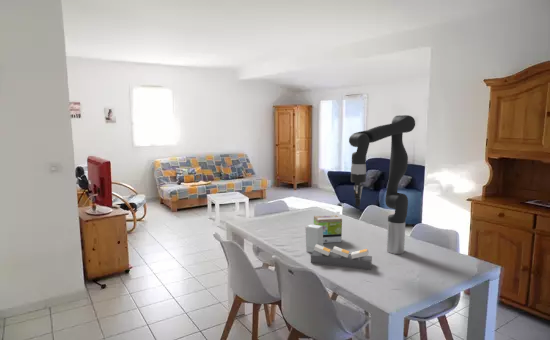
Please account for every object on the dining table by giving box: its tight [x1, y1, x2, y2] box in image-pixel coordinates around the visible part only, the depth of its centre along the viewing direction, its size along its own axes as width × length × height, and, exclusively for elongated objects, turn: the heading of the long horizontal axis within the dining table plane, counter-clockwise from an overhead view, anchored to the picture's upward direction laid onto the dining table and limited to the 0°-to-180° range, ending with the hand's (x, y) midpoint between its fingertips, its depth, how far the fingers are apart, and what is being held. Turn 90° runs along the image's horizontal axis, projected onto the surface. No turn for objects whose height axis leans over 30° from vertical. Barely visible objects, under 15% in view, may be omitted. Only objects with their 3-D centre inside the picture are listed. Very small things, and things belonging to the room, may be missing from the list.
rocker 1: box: [314, 244, 332, 256], centre depth 194 cm, size 4×8×2 cm, turn 71°
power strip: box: [310, 250, 373, 270], centre depth 194 cm, size 8×30×5 cm, turn 71°
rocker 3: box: [350, 248, 369, 259], centre depth 188 cm, size 4×8×2 cm, turn 71°
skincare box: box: [304, 224, 324, 254], centre depth 211 cm, size 8×6×15 cm
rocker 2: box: [331, 245, 350, 257], centre depth 191 cm, size 4×8×2 cm, turn 71°
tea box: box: [313, 214, 343, 244], centre depth 230 cm, size 15×10×15 cm
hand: (357, 205), depth 195 cm, fingers closed
